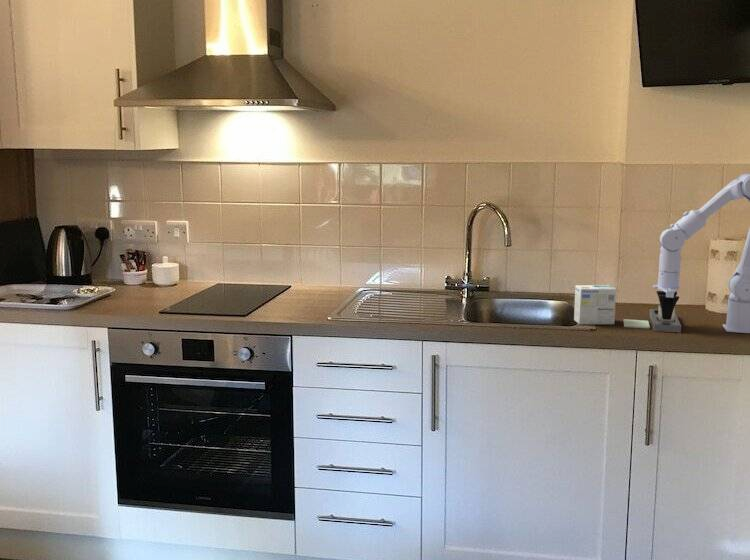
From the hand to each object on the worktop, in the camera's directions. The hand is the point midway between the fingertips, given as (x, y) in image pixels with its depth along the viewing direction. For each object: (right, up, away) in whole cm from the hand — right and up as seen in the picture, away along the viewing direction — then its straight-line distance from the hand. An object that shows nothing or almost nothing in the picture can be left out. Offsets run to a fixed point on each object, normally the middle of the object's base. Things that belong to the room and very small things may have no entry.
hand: (665, 317), depth 231 cm
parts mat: (-8, -2, +3) cm, 8 cm away
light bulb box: (-19, -2, +6) cm, 20 cm away
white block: (0, -3, +1) cm, 3 cm away
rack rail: (+1, -2, +3) cm, 4 cm away
